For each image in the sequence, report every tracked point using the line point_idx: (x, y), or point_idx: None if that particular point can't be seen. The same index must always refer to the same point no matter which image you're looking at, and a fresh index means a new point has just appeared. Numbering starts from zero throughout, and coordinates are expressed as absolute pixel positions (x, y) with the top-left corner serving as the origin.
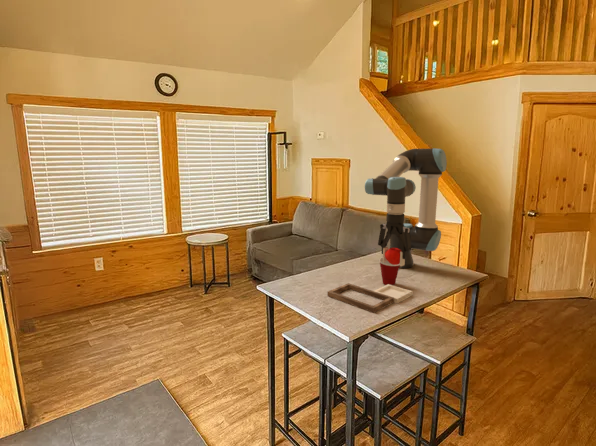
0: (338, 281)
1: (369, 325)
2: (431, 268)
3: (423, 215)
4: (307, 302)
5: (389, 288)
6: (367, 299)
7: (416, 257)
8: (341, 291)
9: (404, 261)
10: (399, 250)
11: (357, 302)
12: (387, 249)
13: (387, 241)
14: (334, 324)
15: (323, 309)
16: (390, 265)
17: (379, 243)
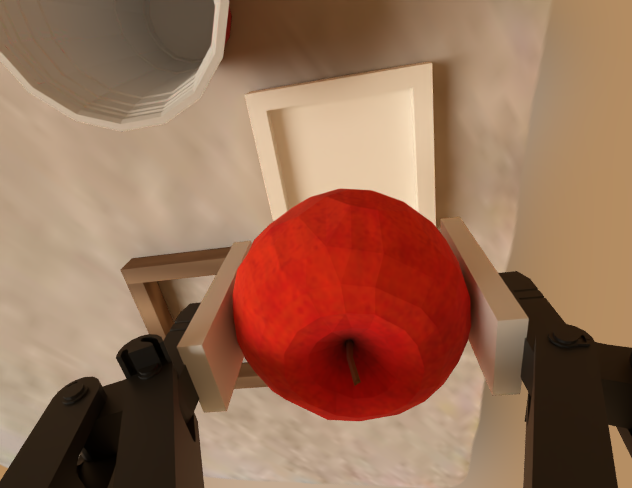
0: (35, 242)
1: (468, 427)
2: None
3: None
4: (202, 447)
5: (278, 114)
6: None
7: None
8: (171, 319)
9: (472, 241)
10: (440, 356)
11: None
12: (214, 329)
13: (188, 469)
14: (385, 478)
15: (280, 446)
16: (200, 96)
17: (113, 464)
